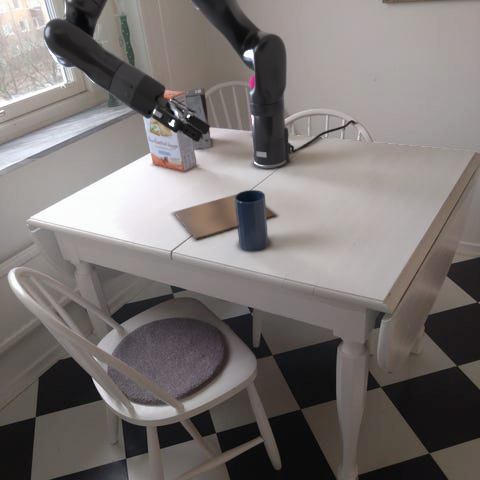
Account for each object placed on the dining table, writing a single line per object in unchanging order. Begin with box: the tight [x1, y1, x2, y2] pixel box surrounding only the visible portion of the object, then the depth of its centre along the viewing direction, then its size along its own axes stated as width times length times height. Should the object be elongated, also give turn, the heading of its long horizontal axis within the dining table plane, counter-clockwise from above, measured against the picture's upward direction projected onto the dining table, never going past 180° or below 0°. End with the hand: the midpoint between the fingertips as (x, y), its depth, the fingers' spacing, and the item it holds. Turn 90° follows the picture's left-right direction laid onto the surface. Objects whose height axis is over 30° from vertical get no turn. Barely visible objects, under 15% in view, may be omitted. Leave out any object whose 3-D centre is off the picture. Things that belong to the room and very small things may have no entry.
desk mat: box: [173, 194, 276, 241], centre depth 119 cm, size 20×16×1 cm
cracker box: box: [142, 89, 198, 173], centre depth 143 cm, size 14×6×21 cm, turn 49°
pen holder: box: [234, 189, 269, 252], centre depth 103 cm, size 6×6×11 cm
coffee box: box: [184, 87, 212, 150], centre depth 158 cm, size 9×6×16 cm
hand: (204, 134), depth 105 cm, fingers open, 8 cm apart
